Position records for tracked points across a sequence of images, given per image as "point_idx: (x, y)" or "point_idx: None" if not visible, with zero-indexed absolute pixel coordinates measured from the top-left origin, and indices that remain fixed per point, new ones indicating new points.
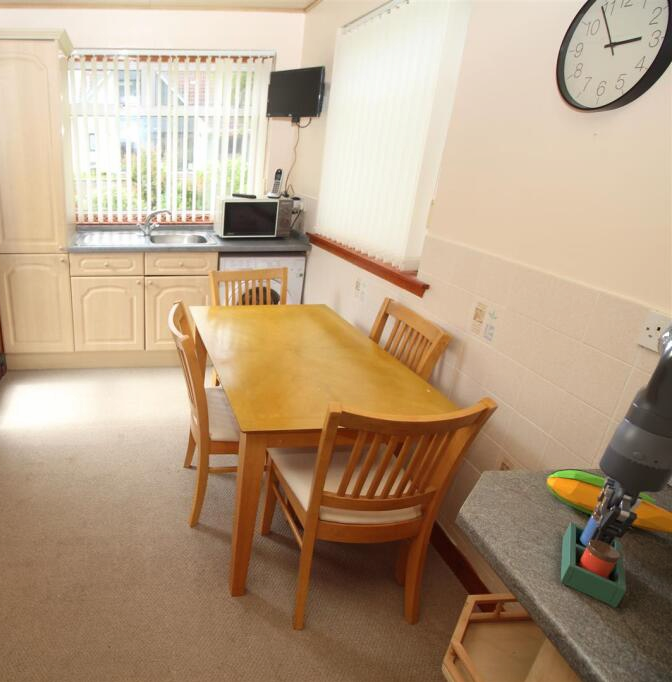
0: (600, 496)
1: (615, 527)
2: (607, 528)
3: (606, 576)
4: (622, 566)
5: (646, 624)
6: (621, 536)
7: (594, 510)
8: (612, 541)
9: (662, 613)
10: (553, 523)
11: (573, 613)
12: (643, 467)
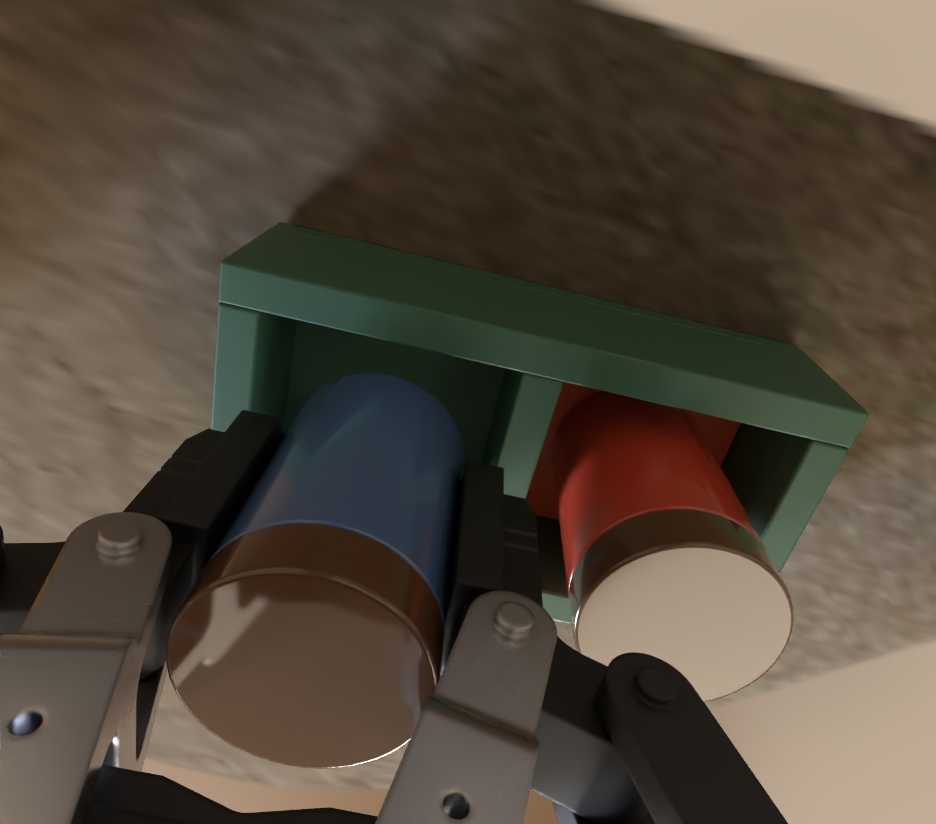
0: None
1: (591, 752)
2: (647, 810)
3: (717, 462)
4: (581, 353)
5: (887, 212)
6: (704, 706)
7: (277, 761)
8: (421, 457)
9: (742, 60)
10: (126, 477)
11: (911, 554)
12: None
